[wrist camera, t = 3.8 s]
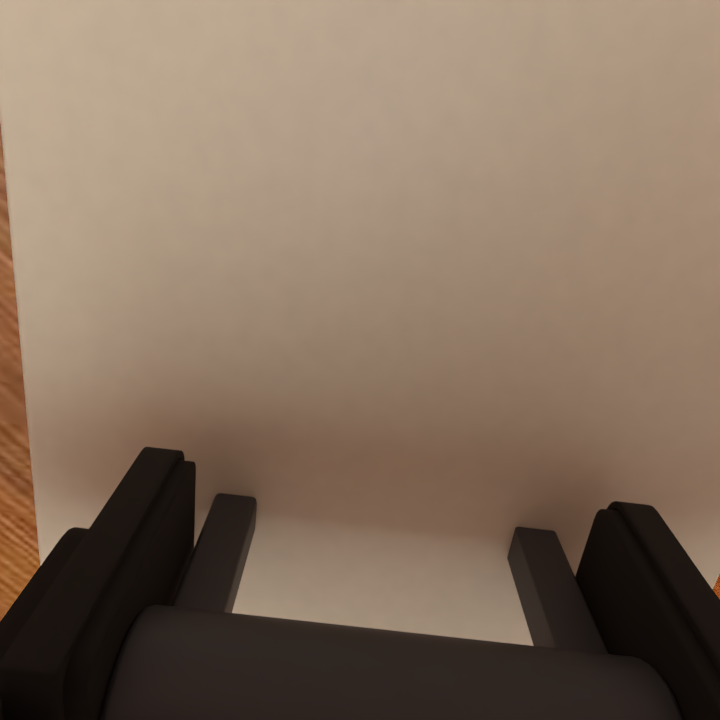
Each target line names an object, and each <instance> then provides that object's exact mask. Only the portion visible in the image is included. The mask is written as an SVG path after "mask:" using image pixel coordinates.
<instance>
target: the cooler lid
mask: <svg viewBox="0 0 720 720" xmlns="http://www.w3.org/2000/svg"><path fill="white" fill-rule="evenodd" d="M0 122H1V133H2V144H3V156H4V167H5V178H6V189H7V200H8V211H9V222H10V234H11V245H12V256H13V267H14V278H15V289H16V300H17V312H18V323H19V334H20V345H21V356H22V367H23V378H24V390H25V401H26V412H27V423H28V434H29V445H30V456H31V468H32V479H33V490H34V501H35V512H36V523H37V534H38V546H39V557H40V566H41V565H42V563H43V562H44V561H45V559H46V558H47V556H48V555H49V554H50V552H51V551H52V550H53V548H54V547H55V545H56V544H57V543H58V541H59V540H60V538H61V537H62V536H63V535H64V534H65V533H66V532H67V531H68V530H69V529H71V528H73V527H78V528H87V529H89V528H90V527H91V525H92V524H93V522H94V521H95V519H96V518H97V516H98V515H99V513H100V512H101V510H102V509H103V507H104V506H105V504H106V503H107V501H108V500H109V498H110V497H111V495H112V494H113V492H114V491H115V489H116V488H117V486H118V485H119V483H120V482H121V480H122V479H123V477H124V476H125V474H126V473H127V471H128V470H129V468H130V467H131V465H132V464H133V462H134V461H135V459H136V458H137V456H138V455H139V453H140V452H141V450H142V449H143V448H144V447H155V448H163V449H172V450H181V451H183V453H184V458H185V461H193V462H195V465H196V487H195V528H194V550H193V552H192V555H191V557H190V559H189V562H188V564H187V567H186V569H185V572H184V574H183V577H182V579H181V582H180V584H179V587H178V589H177V592H176V594H175V597H174V599H173V602H172V604H171V606H165V605H151V606H148V607H146V608H144V609H143V610H142V611H141V612H140V613H139V614H138V616H137V617H136V619H135V620H134V622H133V624H132V626H131V627H130V629H129V631H128V633H127V635H126V637H125V639H124V642H123V644H122V646H121V649H120V651H119V654H118V656H117V659H116V662H115V665H114V668H113V671H112V674H111V677H110V680H109V683H108V687H107V691H106V694H105V698H104V702H103V706H102V710H101V714H100V719H99V720H683V717H682V714H681V712H680V709H679V706H678V704H677V702H676V699H675V697H674V695H673V693H672V691H671V690H670V688H669V686H668V684H667V683H666V681H665V680H664V678H663V677H662V676H661V675H660V673H659V672H658V671H657V670H656V669H655V668H654V667H652V666H651V665H650V664H648V663H647V662H645V661H643V660H641V659H639V658H636V657H630V656H621V655H612V654H609V653H608V651H607V649H606V646H605V644H604V642H603V640H602V637H601V635H600V633H599V630H598V628H597V626H596V624H595V621H594V619H593V617H592V614H591V612H590V610H589V607H588V605H587V603H586V601H585V598H584V596H583V594H582V591H581V589H580V587H579V585H578V582H577V580H576V578H575V576H576V573H577V570H578V567H579V563H580V560H581V557H582V554H583V551H584V548H585V545H586V542H587V539H588V536H589V533H590V530H591V527H592V524H593V521H594V518H595V515H596V513H597V512H598V511H599V510H600V509H607V507H608V506H609V505H610V503H611V502H614V501H620V502H628V503H637V504H645V505H650V506H653V507H654V508H655V509H656V510H657V511H658V513H659V514H660V516H661V517H662V518H663V520H664V521H665V523H666V524H667V526H668V527H669V528H670V530H671V531H672V533H673V534H674V536H675V537H676V538H677V540H678V541H679V543H680V544H681V546H682V547H683V548H684V550H685V551H686V553H687V554H688V556H689V557H690V558H691V560H692V561H693V563H694V564H695V566H696V567H697V568H698V570H699V571H700V573H701V574H702V575H703V577H704V578H705V580H706V581H707V583H708V584H709V585H710V587H711V588H712V590H713V588H714V585H715V583H716V581H717V578H718V576H719V574H720V0H0Z"/></svg>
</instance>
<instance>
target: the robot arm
mask: <svg viewBox="0 0 720 720" xmlns="http://www.w3.org/2000/svg"><path fill="white" fill-rule="evenodd" d="M195 487H196V465H195V462H193V461H185V458H184V453H183V451H181V450H172V449H163V448H155V447H144V448H143V449H142V450H141V452H140V453H139V455H138V456H137V458H136V459H135V461H134V462H133V464H132V465H131V467H130V468H129V470H128V471H127V473H126V474H125V476H124V477H123V479H122V480H121V482H120V483H119V485H118V486H117V488H116V489H115V491H114V492H113V494H112V495H111V497H110V498H109V500H108V501H107V503H106V504H105V506H104V507H103V509H102V510H101V512H100V513H99V515H98V516H97V518H96V519H95V521H94V522H93V524H92V525H91V527H90V528H89V529H87V528H78V527H73V528H71V529H69V530H68V531H67V532H66V533H65V534H64V535H63V536H62V537H61V538H60V540H59V541H58V543H57V544H56V545H55V547H54V548H53V550H52V551H51V552H50V554H49V555H48V556H47V558H46V559H45V561H44V562H43V563H42V565H41V566H40V568H39V569H38V570H37V572H36V573H35V575H34V576H33V577H32V579H31V580H30V581H29V583H28V584H27V586H26V587H25V588H24V590H23V591H22V593H21V594H20V595H19V597H18V598H17V600H16V601H15V602H14V604H13V605H12V606H11V608H10V609H9V611H8V612H7V613H6V615H5V616H4V618H3V619H2V620H1V622H0V720H99V719H100V714H101V710H102V706H103V702H104V698H105V694H106V691H107V687H108V683H109V680H110V677H111V674H112V671H113V668H114V665H115V662H116V659H117V656H118V654H119V651H120V649H121V646H122V644H123V642H124V639H125V637H126V635H127V633H128V631H129V629H130V627H131V626H132V624H133V622H134V620H135V619H136V617H137V616H138V614H139V613H140V612H141V611H142V610H143V609H144V608H146V607H148V606H151V605H165V606H171V604H172V602H173V599H174V597H175V594H176V592H177V589H178V587H179V584H180V582H181V579H182V577H183V574H184V572H185V569H186V567H187V564H188V562H189V559H190V557H191V555H192V552H193V550H194V528H195ZM575 578H576V580H577V582H578V585H579V587H580V589H581V591H582V594H583V596H584V598H585V601H586V603H587V605H588V607H589V610H590V612H591V614H592V617H593V619H594V621H595V624H596V626H597V628H598V630H599V633H600V635H601V637H602V640H603V642H604V644H605V646H606V649H607V651H608V653H609V654H612V655H621V656H630V657H636V658H639V659H641V660H643V661H645V662H647V663H648V664H650V665H651V666H652V667H654V668H655V669H656V670H657V671H658V672H659V673H660V675H661V676H662V677H663V678H664V680H665V681H666V683H667V684H668V686H669V688H670V690H671V691H672V693H673V695H674V697H675V699H676V702H677V704H678V706H679V709H680V712H681V714H682V717H683V720H720V600H719V598H718V597H717V595H716V594H715V593H714V591H713V590H712V588H711V587H710V585H709V584H708V583H707V581H706V580H705V578H704V577H703V575H702V574H701V573H700V571H699V570H698V568H697V567H696V566H695V564H694V563H693V561H692V560H691V558H690V557H689V556H688V554H687V553H686V551H685V550H684V548H683V547H682V546H681V544H680V543H679V541H678V540H677V538H676V537H675V536H674V534H673V533H672V531H671V530H670V528H669V527H668V526H667V524H666V523H665V521H664V520H663V518H662V517H661V516H660V514H659V513H658V511H657V510H656V509H655V508H654V507H653V506H650V505H645V504H637V503H628V502H620V501H614V502H611V503H610V505H609V506H608V507H607V509H600V510H599V511H598V512H597V513H596V515H595V518H594V521H593V524H592V527H591V530H590V533H589V536H588V539H587V542H586V545H585V548H584V551H583V554H582V557H581V560H580V563H579V567H578V570H577V573H576V576H575Z"/></svg>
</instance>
